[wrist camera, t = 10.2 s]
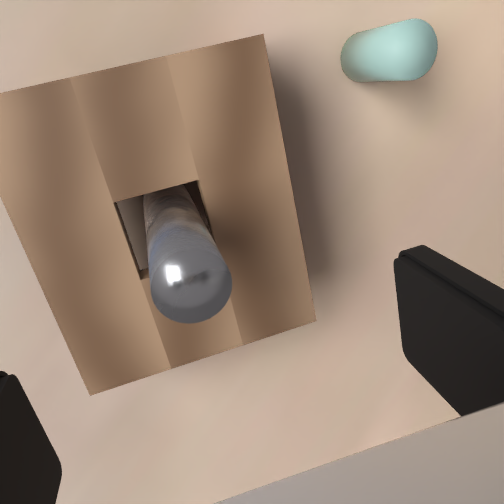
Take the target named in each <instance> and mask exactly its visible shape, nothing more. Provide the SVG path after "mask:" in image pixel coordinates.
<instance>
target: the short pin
mask: <svg viewBox="0 0 504 504" xmlns="http://www.w3.org/2000/svg"><path fill="white" fill-rule="evenodd" d="M437 45H438V44H437V37H436V34H435V32H434V30H433V28H432V27H431V26H430V25H429V24H428V23H427V22H425V21H424V20H421V19H409V20H405V21H401V22H397V23H394V24H390V25H386V26H382V27H378V28H374V29H370V30H366V31H362V32H359V33H356V34H354V35H352V36H351V37H350V38H349V39H348V40H347V41H346V43H345V44H344V46H343V49H342V52H341V66H342V69H343V71H344V73H345V74H346V76H347V77H348V78H350V79H351V80H353V81H356V82H376V81H405V80H415V79H418V78H420V77H422V76H423V75H424V74H426V73H427V72H428V71H429V69H430V68H431V67H432V65H433V63H434V61H435V58H436V54H437Z"/></svg>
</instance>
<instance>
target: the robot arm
mask: <svg viewBox="0 0 504 504" xmlns="http://www.w3.org/2000/svg"><path fill="white" fill-rule="evenodd" d="M394 274H395V283H396V292H397V302H398V311H399V320H400V330H401V339H402V348H403V352H404V354H405V357H406V358H407V360H408V361H409V362H410V363H411V365H412V366H413V367H414V368H415V369H416V370H417V371H418V372H419V373H420V374H421V375H422V376H423V377H424V378H425V379H426V380H427V381H428V382H429V383H430V384H431V385H432V386H433V387H434V388H435V390H436V391H437V392H438V393H439V394H440V395H441V396H442V397H443V398H444V399H445V400H446V401H447V402H448V403H449V404H450V405H451V406H452V407H453V408H454V409H455V410H456V411H457V412H458V414H459V415H460V416H461V417H458V418H456V419H453V420H450V421H447V422H444V423H441V424H438V425H435V426H433V427H430V428H427V429H424V430H421V431H418V432H415V433H412V434H410V435H407V436H404V437H401V438H398V439H395V440H392V441H389V442H387V443H384V444H381V445H378V446H375V447H372V448H370V449H367V450H364V451H361V452H358V453H355V454H353V455H350V456H347V457H344V458H341V459H338V460H336V461H333V462H330V463H327V464H324V465H322V466H319V467H316V468H313V469H310V470H307V471H305V472H302V473H299V474H296V475H293V476H290V477H288V478H285V479H282V480H279V481H276V482H273V483H271V484H268V485H265V486H262V487H259V488H256V489H254V490H251V491H248V492H245V493H242V494H240V495H237V496H234V497H231V498H228V499H225V500H223V501H220V502H217V503H214V504H504V289H502V288H500V287H499V286H497V285H495V284H493V283H491V282H490V281H488V280H486V279H484V278H482V277H481V276H479V275H477V274H475V273H473V272H472V271H470V270H468V269H466V268H464V267H463V266H461V265H459V264H457V263H455V262H454V261H452V260H450V259H448V258H446V257H445V256H443V255H441V254H439V253H437V252H436V251H434V250H432V249H430V248H428V247H427V246H425V245H420V246H417V247H413V248H410V249H407V250H403V251H401V252H400V253H399V257H398V258H396V259H395V260H394ZM61 476H62V469H61V463H60V461H59V458H58V456H57V454H56V452H55V450H54V449H53V447H52V445H51V443H50V441H49V439H48V437H47V435H46V433H45V431H44V429H43V427H42V425H41V423H40V421H39V419H38V417H37V415H36V413H35V411H34V409H33V407H32V405H31V404H30V402H29V400H28V398H27V396H26V394H25V392H24V390H23V388H22V386H21V384H20V382H19V380H18V378H17V377H16V376H15V375H13V374H11V375H8V374H7V373H5V372H4V371H0V504H55V503H56V499H57V494H58V490H59V486H60V481H61Z"/></svg>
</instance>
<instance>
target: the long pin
mask: <svg viewBox="0 0 504 504" xmlns="http://www.w3.org/2000/svg"><path fill="white" fill-rule="evenodd" d="M143 205H144V217H145V229H146V242H147V254H148V266H149V278H150V290H151V296H152V300H153V302H154V304H155V306H156V308H157V309H158V310H159V311H160V312H161V313H162V314H163V315H164V316H166V317H167V318H169V319H171V320H173V321H176V322H179V323H186V324H190V323H198V322H202V321H205V320H208V319H210V318H211V317H213V316H215V315H216V314H217V313H218V312H220V311H221V310H222V308H223V307H224V306H225V305H226V303H227V301H228V299H229V297H230V295H231V291H232V277H231V273H230V270H229V269H228V267H227V265H226V263H225V261H224V259H223V257H222V255H221V253H220V251H219V250H218V248H217V246H216V244H215V242H214V240H213V238H212V236H211V234H210V233H209V231H208V229H207V227H206V225H205V223H204V221H203V219H202V218H201V216H200V214H199V212H198V210H197V208H196V206H195V204H194V202H193V201H192V199H191V197H190V195H189V193H188V191H187V189H186V188H185V187H184V186H183V185H182V184H180V185H177V186H173V187H169V188H166V189H162V190H158V191H154V192H151V193H147V194H144V198H143Z"/></svg>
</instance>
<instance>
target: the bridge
mask: <svg viewBox="0 0 504 504" xmlns="http://www.w3.org/2000/svg"><path fill="white" fill-rule="evenodd" d="M195 180H197V182H198V186H199V190H200V194H201V197H202V201H203V205H204V208H205V212H206V216H207V220H208V223H209V227H210V231H211V235H212V238H213V240H214V242H215V244H216V246H217V248H218V250H219V251H220V253H221V255H222V257H223V259H224V261H225V263H226V265H227V267H228V269H229V270H230V273H231V277H232V291H231V295H230V297H229V299H228V301H227V303H226V305H225V306H224V307H223V308H222V310H221V311H220V312H218V313H217V314H216V315H215V316H213V317H211V318H210V319H208V320H205V321H202V322H198V323H190V324H186V323H179V322H176V321H173V320H171V319H169V318H167V317H166V316H164V315H163V314H162V313H161V312H160V311H159V310H158V309H157V308H156V306H155V304H154V302H153V300H152V296H151V290H150V278H149V268H148V269H144V270H141V271H140V269H139V266H138V263H137V260H136V257H135V254H134V252H133V249H132V246H131V243H130V240H129V237H128V234H127V231H126V229H125V226H124V223H123V220H122V217H121V214H120V211H119V208H118V206H117V203H116V202H117V201H121V200H125V199H128V198H132V197H136V196H140V195H143V194H147V193H151V192H154V191H158V190H162V189H166V188H169V187H173V186H177V185H180V184H184V183H188V182H192V181H195ZM0 197H1V199H2V201H3V203H4V206H5V208H6V210H7V212H8V215H9V217H10V219H11V221H12V223H13V226H14V228H15V230H16V232H17V235H18V237H19V239H20V241H21V243H22V246H23V248H24V250H25V252H26V255H27V257H28V259H29V261H30V263H31V266H32V268H33V270H34V272H35V275H36V277H37V279H38V281H39V283H40V286H41V288H42V290H43V292H44V295H45V297H46V299H47V301H48V303H49V306H50V308H51V310H52V312H53V314H54V317H55V319H56V321H57V323H58V326H59V328H60V330H61V332H62V334H63V337H64V339H65V341H66V343H67V346H68V348H69V350H70V352H71V354H72V357H73V359H74V361H75V363H76V366H77V368H78V370H79V372H80V374H81V377H82V379H83V381H84V383H85V386H86V388H87V390H88V392H89V394H90V396H91V395H94V394H97V393H100V392H103V391H106V390H109V389H112V388H115V387H118V386H121V385H124V384H127V383H130V382H133V381H136V380H139V379H142V378H145V377H148V376H151V375H154V374H157V373H160V372H163V371H166V370H169V369H172V368H175V367H178V366H181V365H184V364H187V363H190V362H194V361H197V360H200V359H203V358H206V357H209V356H212V355H215V354H218V353H221V352H224V351H227V350H230V349H233V348H236V347H239V346H242V345H245V344H248V343H251V342H254V341H257V340H260V339H263V338H266V337H269V336H272V335H275V334H278V333H281V332H284V331H287V330H290V329H293V328H296V327H299V326H302V325H305V324H308V323H312V322H315V321H316V315H315V310H314V305H313V299H312V294H311V288H310V283H309V278H308V272H307V267H306V261H305V256H304V251H303V245H302V240H301V234H300V229H299V224H298V218H297V213H296V207H295V202H294V197H293V191H292V186H291V180H290V175H289V170H288V164H287V159H286V153H285V148H284V143H283V137H282V132H281V126H280V121H279V115H278V110H277V105H276V99H275V94H274V88H273V83H272V78H271V72H270V67H269V61H268V56H267V51H266V45H265V40H264V34H261V35H257V36H252V37H248V38H243V39H239V40H234V41H230V42H225V43H221V44H217V45H212V46H208V47H203V48H199V49H194V50H190V51H186V52H181V53H177V54H172V55H168V56H163V57H159V58H154V59H150V60H146V61H141V62H137V63H132V64H128V65H123V66H119V67H115V68H110V69H106V70H101V71H97V72H92V73H88V74H83V75H79V76H75V77H70V78H66V79H61V80H57V81H52V82H48V83H44V84H39V85H35V86H30V87H26V88H21V89H17V90H12V91H8V92H4V93H0Z"/></svg>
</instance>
